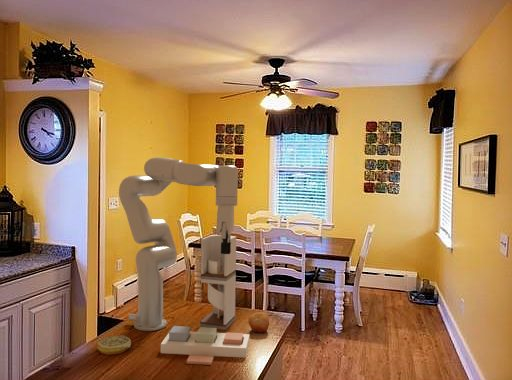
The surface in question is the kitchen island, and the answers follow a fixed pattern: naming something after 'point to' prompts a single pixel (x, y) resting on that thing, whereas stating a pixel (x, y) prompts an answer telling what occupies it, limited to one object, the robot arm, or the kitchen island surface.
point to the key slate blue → (179, 333)
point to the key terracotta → (233, 338)
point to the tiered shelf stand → (219, 281)
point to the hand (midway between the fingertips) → (225, 253)
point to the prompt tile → (200, 359)
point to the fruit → (259, 322)
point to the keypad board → (206, 346)
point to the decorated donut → (114, 344)
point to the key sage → (206, 335)
